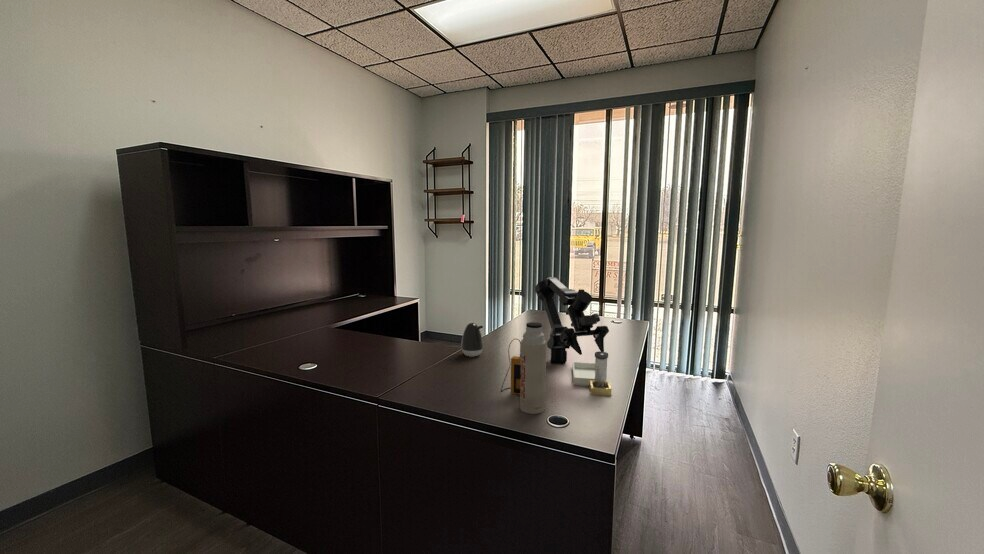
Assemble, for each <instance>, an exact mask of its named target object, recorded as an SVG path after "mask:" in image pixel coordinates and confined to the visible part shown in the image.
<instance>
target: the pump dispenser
mask: <svg viewBox="0 0 984 554" xmlns="http://www.w3.org/2000/svg"><path fill="white" fill-rule="evenodd" d="M483 328H484V325H479V326H478V324H477V323H474V322H469V323H468V324H467V325H466V327H465V328H464V331H463V334H462V337H461V343H460V349H461V351H462V353H463V354H464V355H465V356H467V357H468V356H469V357H470V358H475V356H476V357H477V356H479V355H481V354H482V352H483V349H484V342H483V337H482V333H481V329H483Z"/></svg>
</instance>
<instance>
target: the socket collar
mask: <svg viewBox="0 0 984 554" xmlns="http://www.w3.org/2000/svg"><path fill="white" fill-rule="evenodd" d="M594 386H595V381H590V386H589V391H590V395H591V396H594V395H595V396H606V397H607V396H608V397H610V396H612V386H611V384H610V381H606V388H600V387H594Z"/></svg>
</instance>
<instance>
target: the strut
mask: <svg viewBox="0 0 984 554" xmlns="http://www.w3.org/2000/svg"><path fill="white" fill-rule="evenodd" d="M594 357H595V361H594V363H595V386H594V387H600V388H606V382H607V372H608V359H609V353H608V352H606V351H604V352H601V351H595V352H594Z"/></svg>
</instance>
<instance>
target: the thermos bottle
mask: <svg viewBox="0 0 984 554" xmlns="http://www.w3.org/2000/svg"><path fill="white" fill-rule="evenodd" d="M525 325H526V328H525V332H523V334H522V339H521V340H520V342H521V380H520V395H519V409H520V410H521V411H522V412H523V413H525V414H529V415H530V414H531V415H536V414H541V413H543V412H544V411H545V409H546V373H547V372H546V368H547V367H546V364H547V340H546V339H545V334H544V333H543V332H542V326H543V323H540V322H534V321H532V322H527V323H526V324H525Z"/></svg>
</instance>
